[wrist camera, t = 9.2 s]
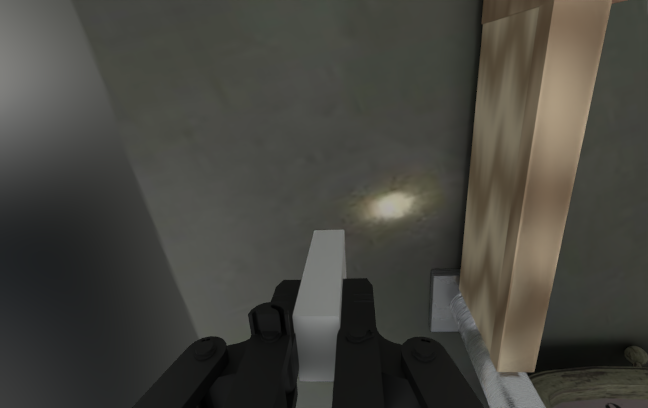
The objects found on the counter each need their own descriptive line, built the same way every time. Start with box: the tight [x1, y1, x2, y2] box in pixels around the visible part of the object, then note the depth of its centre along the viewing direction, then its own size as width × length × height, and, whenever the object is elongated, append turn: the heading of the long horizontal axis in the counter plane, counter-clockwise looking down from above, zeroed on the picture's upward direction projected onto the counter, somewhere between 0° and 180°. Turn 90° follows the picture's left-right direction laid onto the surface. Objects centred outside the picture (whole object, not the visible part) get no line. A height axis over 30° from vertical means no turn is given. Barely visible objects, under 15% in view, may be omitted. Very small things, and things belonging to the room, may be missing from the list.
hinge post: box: [429, 269, 546, 408], centre depth 25 cm, size 6×6×13 cm
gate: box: [459, 0, 612, 372], centre depth 21 cm, size 22×2×8 cm, turn 4°
